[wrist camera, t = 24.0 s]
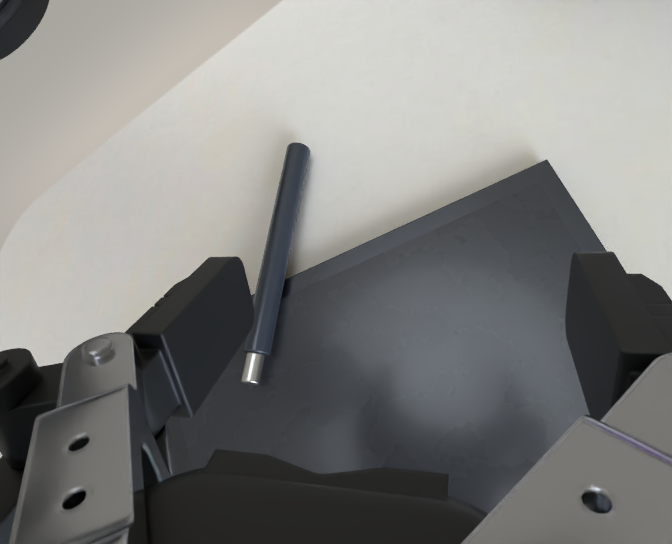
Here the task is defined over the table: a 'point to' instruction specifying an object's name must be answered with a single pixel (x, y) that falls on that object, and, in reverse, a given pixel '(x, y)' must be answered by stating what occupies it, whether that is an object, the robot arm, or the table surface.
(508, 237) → the tablet
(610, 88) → the table surface
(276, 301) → the stylus
